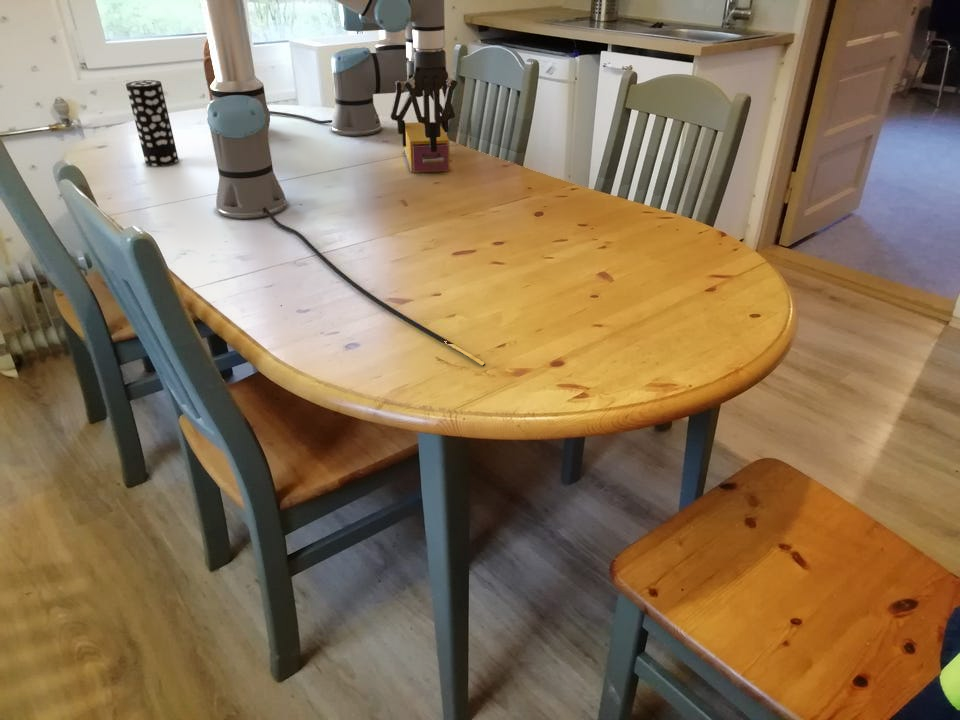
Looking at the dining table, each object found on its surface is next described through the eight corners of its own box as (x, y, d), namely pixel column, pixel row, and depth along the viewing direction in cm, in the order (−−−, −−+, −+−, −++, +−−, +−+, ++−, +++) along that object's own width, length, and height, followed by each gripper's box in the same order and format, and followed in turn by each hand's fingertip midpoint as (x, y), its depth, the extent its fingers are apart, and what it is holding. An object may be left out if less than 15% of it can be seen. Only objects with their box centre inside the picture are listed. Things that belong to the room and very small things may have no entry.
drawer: (451, 176, 176) (451, 151, 173) (416, 177, 175) (415, 153, 171) (439, 150, 196) (438, 127, 192) (407, 151, 194) (406, 129, 191)
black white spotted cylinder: (184, 157, 190) (167, 80, 179) (169, 166, 183) (151, 87, 172) (155, 156, 190) (136, 79, 179) (139, 165, 183) (119, 86, 172)
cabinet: (449, 170, 183) (449, 139, 178) (411, 172, 181) (410, 141, 177) (439, 150, 199) (439, 121, 194) (404, 152, 197) (403, 122, 193)
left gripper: (454, 45, 166) (456, 144, 178) (400, 47, 164) (406, 147, 177) (459, 50, 159) (461, 153, 172) (403, 52, 158) (409, 155, 170)
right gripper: (461, 55, 186) (461, 139, 198) (376, 57, 182) (382, 142, 194) (465, 60, 179) (465, 146, 191) (378, 62, 176) (383, 150, 188)
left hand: (433, 150), depth 174 cm, fingers closed
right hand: (423, 144), depth 193 cm, fingers closed on cabinet, 10 cm apart
